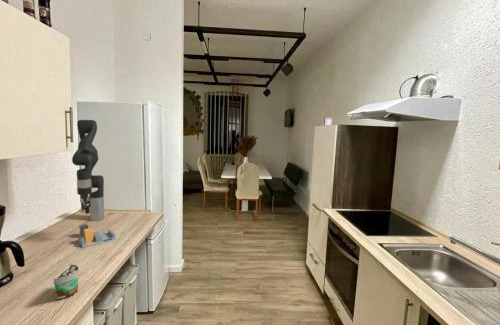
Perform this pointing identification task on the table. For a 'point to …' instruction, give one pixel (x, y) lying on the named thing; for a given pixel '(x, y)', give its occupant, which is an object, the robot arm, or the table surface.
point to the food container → (67, 283)
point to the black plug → (83, 229)
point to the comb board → (104, 237)
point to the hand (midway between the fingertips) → (85, 211)
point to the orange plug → (88, 235)
